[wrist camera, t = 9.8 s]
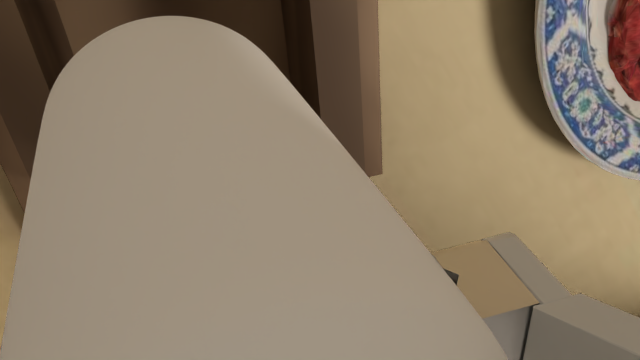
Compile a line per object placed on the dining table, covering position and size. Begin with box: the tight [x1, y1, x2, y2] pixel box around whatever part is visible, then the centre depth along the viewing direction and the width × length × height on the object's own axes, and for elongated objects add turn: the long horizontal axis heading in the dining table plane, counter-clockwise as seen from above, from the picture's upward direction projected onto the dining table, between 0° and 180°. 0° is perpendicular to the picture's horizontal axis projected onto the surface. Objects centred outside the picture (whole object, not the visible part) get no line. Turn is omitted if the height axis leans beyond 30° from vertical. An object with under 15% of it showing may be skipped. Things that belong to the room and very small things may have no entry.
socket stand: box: [0, 0, 382, 213], centre depth 20 cm, size 16×16×6 cm
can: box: [0, 16, 508, 360], centre depth 10 cm, size 6×6×12 cm
